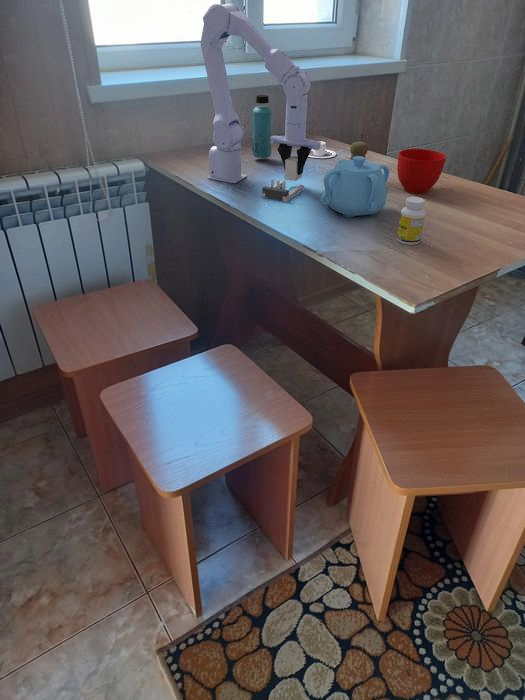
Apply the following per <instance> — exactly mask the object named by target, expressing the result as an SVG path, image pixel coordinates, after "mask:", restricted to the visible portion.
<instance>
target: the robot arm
mask: <svg viewBox="0 0 525 700" xmlns="http://www.w3.org/2000/svg"><path fill="white" fill-rule="evenodd" d="M202 21H203V26H202V33H201V38H200V48H201V53H202V57H203V63H204V67H205V68H204V69H205V72H206V76H207V81H208V86H209V91H210V96H211V100H212V104H213V105H212V106H213V110H214V113H215V114H214V115H215V116H214V118H213V122H212V127H213V133H212V141H213V143H214V146H211V148H209V149H210V150H209V151H208V176H207V179H209V180H214V181H220V182H225V183H232V184H236V183H238V182H239V181H241V180H244V179H245V178H247V177H248V175H247V174H242V144H241V142H242V141H243V139H244V137H245V129H244V127H243V125H242V123H241V122H240V117H239V115H238V113H236V111H235V110H234V105H233V99H232V95H231V90H230V89H231V88H230V84H229V79H228V73H227V68H226V63H225V58H224V54H223V49H222V48H223V46H224V45H225V43H226V41H227V40H228V38H229V37H230V36H235V37H241V38H242V39H243V40H244V41H245V42H246V43H247V44H248V45H250V47H251V48H252V49H253V50H254V51H255V52H256V53H257V54H258V55H259V56H261V58H262V59H263V62H264V67H265V69H266V70H267V71H268V72H269V73H270V74H271V75H272V76H273V78H274V79H275V80H276V81H277V82H278V83H279V85H281V86H282V87H283V93H284V94H285V96H286V103H285V123H284V125H285V127H284V135H271V137H270V144H272V145H278V147H277V152H278V153H279V155H280V158H281V162H282V166H283V170H284V172H285V160H286V159H288V158H289V157H291V156H292V151H293V148H294V147H295V148H297V150H296V156H297V157H298V168H297V173H298V175H300V174H302V175H303V172H304V167H305V164H306V162H307V160H308V156H310V153H311V150H312V149H314V150H319V149H320V142H319V140H313V139H311V138H310V139H309V138H306V134H307V115H308V114H307V112H308V93H309V91H310V89H311V85H312V81H311V79H310V78H311V77H310V76H309V75H308V73H307V72H306V71H303V70H301V67H300V66H299V65H296V64H294V62H293V61H292V60H291V59H290V58H289V57H288V54H289V53H288V52H287V51H286V50H285V49H284V50H282V49H280V48H273V47H272V46H271V44H270V43H269V42H268V41H267V40H266V39H265V37H264V36H263V34H261V33H260V31H259V30H258V29H257V27H256V26H255V25H254V24H253V22H251V20H250V19H249V18H248V16H247V14H246V13H244V12H243V11H242V10H240V8H239V7H238V6H237V5H235V4H234V3H225V4H223V3H222V4H219V3H215V4H212V5H211V6H209V7H208V9H207V11H206V12H205V13H204V15H203V17H202Z"/></svg>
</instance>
